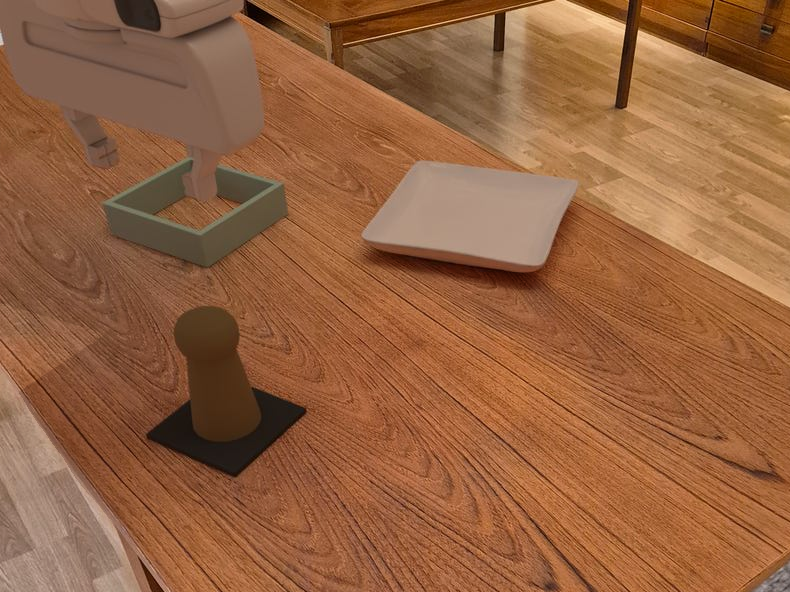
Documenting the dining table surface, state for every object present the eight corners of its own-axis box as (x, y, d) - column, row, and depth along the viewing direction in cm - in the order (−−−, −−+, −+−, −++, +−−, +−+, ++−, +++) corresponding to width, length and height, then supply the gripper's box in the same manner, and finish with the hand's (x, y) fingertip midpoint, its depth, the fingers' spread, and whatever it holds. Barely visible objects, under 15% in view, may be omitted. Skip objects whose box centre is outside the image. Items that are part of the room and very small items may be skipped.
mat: (146, 438, 79) (145, 434, 78) (222, 378, 85) (221, 374, 85) (235, 477, 75) (234, 473, 75) (306, 412, 82) (306, 407, 81)
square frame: (111, 234, 104) (101, 202, 101) (196, 185, 113) (189, 155, 111) (207, 268, 99) (200, 235, 96) (288, 214, 108) (284, 183, 106)
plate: (358, 262, 101) (356, 235, 98) (418, 181, 115) (417, 155, 113) (541, 293, 97) (543, 265, 94) (578, 204, 112) (581, 178, 109)
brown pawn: (274, 420, 80) (255, 316, 72) (217, 451, 77) (190, 346, 69) (236, 390, 83) (213, 287, 75) (179, 419, 80) (149, 315, 72)
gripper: (-54, -47, 57) (17, 162, 66) (191, 13, 50) (231, 235, 60) (26, -67, 61) (82, 132, 70) (263, -14, 54) (289, 198, 64)
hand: (152, 180), depth 65 cm, fingers open, 8 cm apart
